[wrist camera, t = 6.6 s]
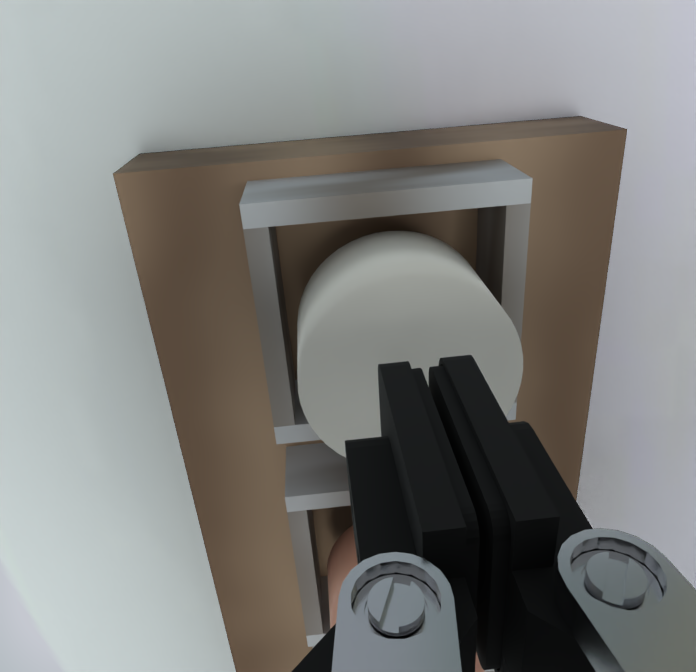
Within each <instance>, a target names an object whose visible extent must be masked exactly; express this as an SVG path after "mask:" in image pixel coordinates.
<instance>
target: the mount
mask: <svg viewBox="0 0 696 672" xmlns="http://www.w3.org/2000/svg"><path fill="white" fill-rule="evenodd" d="M626 134H627V129H624V128H621V127H617V126H614V125H610V124H607V123H603V122H600V121H596V120H592V119H589V118H585V117H582V116H577V117H565V118H554V119H542V120H530V121H518V122H507V123H495V124H483V125H472V126H460V127H448V128H436V129H425V130H413V131H401V132H390V133H378V134H366V135H355V136H343V137H331V138H319V139H308V140H296V141H284V142H273V143H261V144H249V145H238V146H226V147H214V148H202V149H191V150H179V151H167V152H156V153H144V154H139V155H137V156H136V157H135V158H133V159H132V160H131V161H129V162H128V163H127V164H125V165H124V166H123V167H121V168H120V169H119V170H117V171H116V172H115V173H113V176H114V180H115V184H116V188H117V192H118V196H119V200H120V204H121V209H122V213H123V217H124V221H125V225H126V229H127V233H128V237H129V241H130V245H131V249H132V253H133V257H134V261H135V265H136V269H137V273H138V277H139V281H140V285H141V289H142V293H143V297H144V301H145V305H146V309H147V314H148V318H149V322H150V326H151V330H152V334H153V338H154V342H155V346H156V350H157V354H158V358H159V362H160V366H161V370H162V374H163V378H164V382H165V386H166V390H167V394H168V398H169V402H170V406H171V410H172V415H173V419H174V423H175V427H176V431H177V435H178V439H179V443H180V447H181V451H182V455H183V459H184V463H185V467H186V471H187V475H188V479H189V483H190V487H191V491H192V495H193V499H194V503H195V507H196V511H197V515H198V520H199V524H200V528H201V532H202V536H203V540H204V544H205V548H206V552H207V556H208V560H209V564H210V568H211V572H212V576H213V580H214V584H215V588H216V592H217V596H218V600H219V604H220V608H221V612H222V616H223V621H224V625H225V629H226V633H227V637H228V641H229V645H230V649H231V653H232V657H233V661H234V665H235V669H236V672H292V670H293V669H294V668H295V667H296V666H297V665H298V664H299V663H300V662H301V661H302V660H303V658H304V657H305V656H306V655H307V654H308V653H309V652H310V651H311V650H312V649H313V648H314V647H315V645H316V644H317V643H318V642H319V641H320V640H321V639H322V638H323V637H324V636H325V635H326V633H327V632H328V631H329V630H330V611H329V593H328V575H327V563H328V557H329V554H330V551H331V549H332V547H333V546H334V544H335V542H336V541H337V540H338V538H339V537H340V536H341V535H342V534H343V533H344V532H345V531H346V530H347V529H348V528H350V527H351V526H352V525H353V521H352V513H351V504H350V494H349V484H348V474H347V463H346V458H345V457H344V456H342V455H340V454H338V453H337V452H335V451H334V450H333V449H331V448H330V447H329V446H327V445H326V444H325V443H324V442H323V441H322V440H321V439H320V438H319V437H318V435H317V434H316V433H315V432H314V430H313V429H312V428H311V426H310V424H309V422H308V421H307V419H306V417H305V415H304V412H303V410H302V407H301V404H300V399H299V394H298V381H297V319H298V309H299V305H300V301H301V297H302V294H303V292H304V289H305V287H306V285H307V283H308V281H309V280H310V278H311V276H312V275H313V273H314V272H315V271H316V269H317V268H318V267H319V266H320V265H321V264H322V263H323V262H324V261H325V260H326V259H327V258H328V257H329V256H330V255H331V254H332V253H334V252H335V251H336V250H338V249H339V248H341V247H342V246H344V245H346V244H347V243H349V242H351V241H353V240H356V239H358V238H360V237H363V236H366V235H370V234H373V233H378V232H385V231H411V232H417V233H421V234H425V235H429V236H431V237H434V238H436V239H439V240H441V241H442V242H444V243H446V244H448V245H450V246H451V247H452V248H453V249H455V250H456V251H457V252H459V253H460V254H461V255H462V256H463V257H464V258H465V259H466V260H467V262H468V263H469V264H470V266H471V267H472V268H473V270H474V271H475V272H476V274H477V275H478V276H479V277H480V279H481V280H482V281H483V283H484V284H485V285H486V287H487V288H488V289H489V291H490V292H491V293H492V295H493V296H494V297H495V299H496V300H497V301H498V303H499V304H500V305H501V307H502V308H503V309H504V311H505V312H506V314H507V315H508V316H509V318H510V319H511V321H512V323H513V324H514V326H515V328H516V330H517V333H518V336H519V339H520V342H521V346H522V353H523V374H522V380H521V385H520V388H519V391H518V395H517V397H516V399H515V401H514V404H513V406H512V408H511V409H510V411H509V412H508V414H507V416H506V418H507V420H508V422H509V423H512V422H521V421H525V422H527V423H529V424H530V426H531V427H532V428H533V430H534V431H535V433H536V435H537V436H538V438H539V440H540V441H541V443H542V445H543V447H544V448H545V450H546V452H547V453H548V455H549V457H550V458H551V460H552V462H553V463H554V465H555V467H556V468H557V470H558V472H559V473H560V475H561V477H562V478H563V480H564V482H565V483H566V485H567V487H568V488H569V490H570V492H571V494H572V495H573V497H574V499H575V500H576V498H577V490H578V483H579V476H580V469H581V461H582V454H583V447H584V439H585V432H586V425H587V418H588V410H589V403H590V396H591V389H592V381H593V374H594V367H595V359H596V352H597V345H598V338H599V330H600V323H601V316H602V309H603V301H604V294H605V287H606V280H607V272H608V265H609V258H610V250H611V243H612V236H613V229H614V221H615V214H616V207H617V200H618V192H619V185H620V178H621V170H622V163H623V156H624V149H625V141H626ZM484 672H495V671H494V669H490V670H485V671H484Z"/></svg>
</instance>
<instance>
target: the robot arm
mask: <svg viewBox="0 0 696 672" xmlns="http://www.w3.org/2000/svg"><path fill="white" fill-rule="evenodd" d="M378 385H379V404H380V422H381V437H373V438H363V439H354V440H345V452H346V463H347V474H348V484H349V494H350V504H351V513H352V521H353V530H354V538H355V546H356V554H357V563H358V565H357V566H355V567H354V568H353V569H351V571H350V572H349V574H348V575H347V577H346V578H345V579H344V581H343V582H342V586H341V590H340V593H339V597H338V607H337V618H336V624H335V625H334V626H333V627H332V628H331V629H330V630H329V631H328V632H327V633H326V635H325V636H324V637H323V638H322V639H321V640H320V641H319V642H318V643H317V644H316V645H315V647H314V648H313V649H312V650H311V651H310V652H309V653H308V654H307V655H306V656H305V657H304V658H303V660H302V661H301V662H300V663H299V664H298V665H297V666H296V667H295V668H294V669H293V670H292V672H475V662H476V652H477V655H478V659H479V662H480V665H481V667H482V669H483V670H490V669H494V671H495V672H696V589H695V588H694V587H693V586H692V585H691V584H690V583H689V582H688V581H687V579H686V578H685V577H684V576H683V575H682V574H681V573H680V572H679V571H678V570H677V568H676V567H675V566H674V565H673V564H672V563H671V562H670V561H669V560H668V559H667V558H666V557H665V556H664V555H663V554H662V553H661V552H660V551H658V550H657V549H656V548H655V547H654V546H653V545H651V544H649V543H647V542H646V541H644V540H642V539H640V538H638V537H637V536H634V535H631V534H628V533H625V532H622V531H619V530H612V529H603V528H598V529H592V527H591V525H590V524H589V522H588V520H587V519H586V517H585V515H584V514H583V512H582V510H581V509H580V507H579V505H578V504H577V502H576V500H575V499H574V497H573V495H572V494H571V492H570V490H569V488H568V487H567V485H566V483H565V482H564V480H563V478H562V477H561V475H560V473H559V472H558V470H557V468H556V467H555V465H554V463H553V462H552V460H551V458H550V457H549V455H548V453H547V452H546V450H545V448H544V447H543V445H542V443H541V441H540V440H539V438H538V436H537V435H536V433H535V431H534V430H533V428H532V427H531V426H530V424H529V423H527V422H525V421H521V422H512V423H509V422H508V420H507V418H506V417H505V415H504V413H503V411H502V409H501V407H500V406H499V404H498V402H497V400H496V398H495V396H494V395H493V393H492V391H491V389H490V387H489V385H488V384H487V382H486V380H485V378H484V376H483V374H482V373H481V371H480V369H479V367H478V365H477V363H476V362H475V360H474V358H473V357H472V355H463V356H453V357H443V358H440V360H439V366H433V367H430V368H429V387H428V384H427V381H426V379H425V376H424V373H423V371H422V369H421V368H414V369H411V366H410V363H409V361H404V362H395V363H385V364H378Z"/></svg>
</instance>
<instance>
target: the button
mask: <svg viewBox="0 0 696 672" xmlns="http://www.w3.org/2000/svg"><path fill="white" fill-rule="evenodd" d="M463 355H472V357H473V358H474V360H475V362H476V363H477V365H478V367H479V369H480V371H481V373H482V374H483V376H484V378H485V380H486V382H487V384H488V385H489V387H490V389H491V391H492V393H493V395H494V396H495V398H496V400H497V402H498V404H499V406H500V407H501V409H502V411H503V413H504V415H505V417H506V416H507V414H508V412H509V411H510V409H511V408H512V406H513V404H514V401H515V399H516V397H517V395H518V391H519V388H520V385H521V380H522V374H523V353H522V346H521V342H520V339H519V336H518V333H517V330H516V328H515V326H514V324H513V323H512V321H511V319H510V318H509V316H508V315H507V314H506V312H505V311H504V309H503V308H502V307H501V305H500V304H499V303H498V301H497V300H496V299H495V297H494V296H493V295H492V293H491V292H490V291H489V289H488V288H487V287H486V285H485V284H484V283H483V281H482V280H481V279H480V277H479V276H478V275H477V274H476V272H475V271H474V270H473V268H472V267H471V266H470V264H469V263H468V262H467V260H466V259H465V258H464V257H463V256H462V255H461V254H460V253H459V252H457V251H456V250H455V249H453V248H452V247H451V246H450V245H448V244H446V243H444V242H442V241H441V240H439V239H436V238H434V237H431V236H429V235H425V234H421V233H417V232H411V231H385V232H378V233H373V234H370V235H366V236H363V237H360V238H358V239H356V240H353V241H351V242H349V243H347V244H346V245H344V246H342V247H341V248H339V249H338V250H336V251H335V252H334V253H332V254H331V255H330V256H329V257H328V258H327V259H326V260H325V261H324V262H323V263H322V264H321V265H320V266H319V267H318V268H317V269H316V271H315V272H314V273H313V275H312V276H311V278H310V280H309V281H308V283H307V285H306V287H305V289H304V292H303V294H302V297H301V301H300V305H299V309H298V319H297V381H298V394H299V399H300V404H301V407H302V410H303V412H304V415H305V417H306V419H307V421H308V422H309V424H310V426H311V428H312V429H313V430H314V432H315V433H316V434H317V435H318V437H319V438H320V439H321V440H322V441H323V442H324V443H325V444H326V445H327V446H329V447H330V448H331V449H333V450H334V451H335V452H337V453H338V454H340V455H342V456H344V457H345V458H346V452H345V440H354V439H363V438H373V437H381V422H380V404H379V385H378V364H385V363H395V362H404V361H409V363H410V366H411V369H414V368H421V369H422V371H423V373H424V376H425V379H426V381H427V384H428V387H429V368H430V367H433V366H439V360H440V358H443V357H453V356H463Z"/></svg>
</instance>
